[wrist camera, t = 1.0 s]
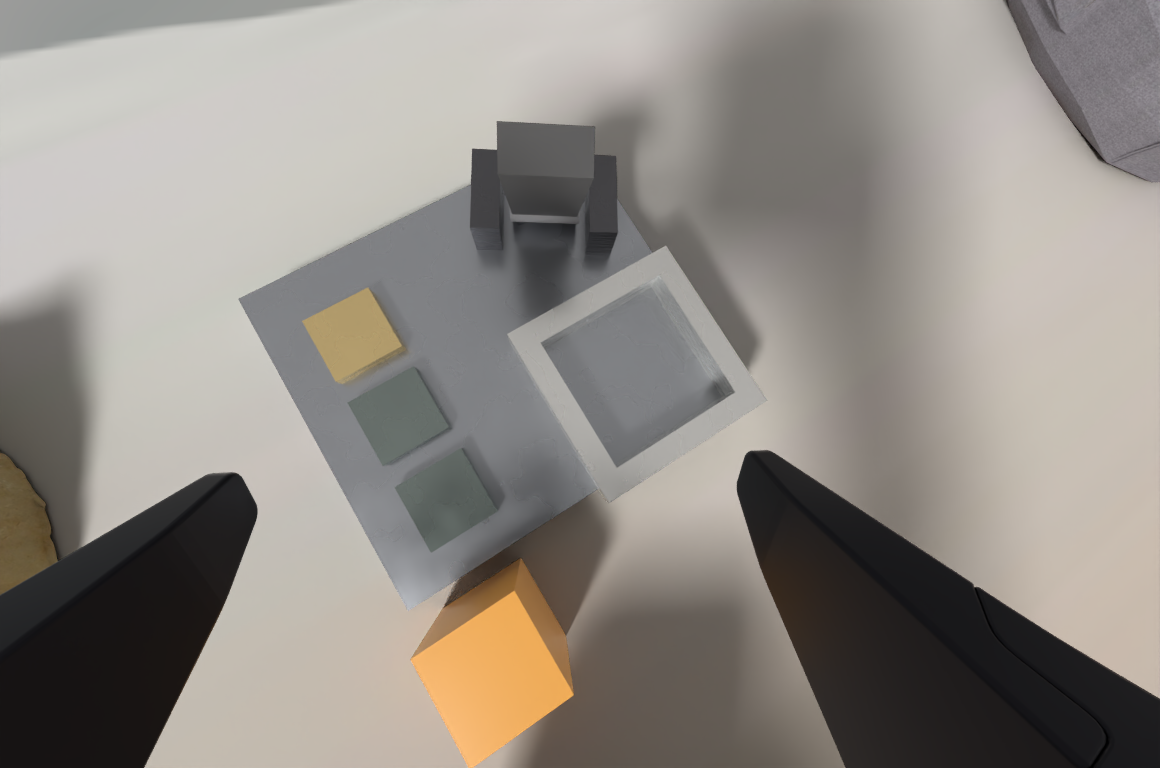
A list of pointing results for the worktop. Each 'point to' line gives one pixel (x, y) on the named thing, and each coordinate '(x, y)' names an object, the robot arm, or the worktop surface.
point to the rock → (21, 528)
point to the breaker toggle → (545, 170)
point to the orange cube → (495, 662)
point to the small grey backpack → (1101, 72)
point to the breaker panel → (495, 370)
